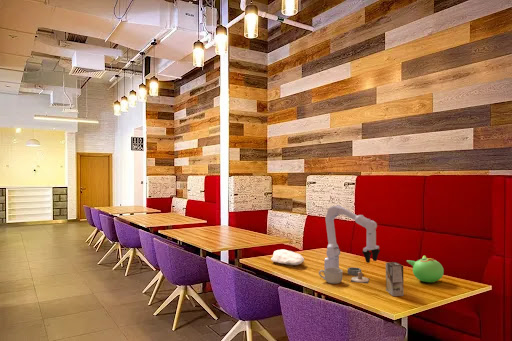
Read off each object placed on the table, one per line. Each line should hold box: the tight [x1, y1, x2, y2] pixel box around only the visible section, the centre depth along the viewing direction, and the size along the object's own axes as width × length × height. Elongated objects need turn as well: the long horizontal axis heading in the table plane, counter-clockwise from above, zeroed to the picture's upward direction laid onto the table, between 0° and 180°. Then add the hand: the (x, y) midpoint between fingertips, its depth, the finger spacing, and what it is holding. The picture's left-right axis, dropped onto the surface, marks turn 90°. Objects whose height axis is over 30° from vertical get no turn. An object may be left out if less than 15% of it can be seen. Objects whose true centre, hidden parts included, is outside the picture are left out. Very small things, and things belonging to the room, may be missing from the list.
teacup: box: [318, 267, 343, 285], centre depth 223 cm, size 14×11×8 cm
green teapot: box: [406, 255, 445, 283], centre depth 225 cm, size 18×17×15 cm
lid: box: [351, 271, 370, 284], centre depth 227 cm, size 10×10×5 cm
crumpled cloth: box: [270, 248, 305, 266], centre depth 273 cm, size 24×35×9 cm
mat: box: [350, 279, 370, 284], centre depth 227 cm, size 10×11×1 cm
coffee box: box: [385, 261, 405, 297], centre depth 203 cm, size 9×6×16 cm
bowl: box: [347, 267, 362, 277], centre depth 242 cm, size 8×8×4 cm
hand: (371, 261), depth 235 cm, fingers open, 7 cm apart
